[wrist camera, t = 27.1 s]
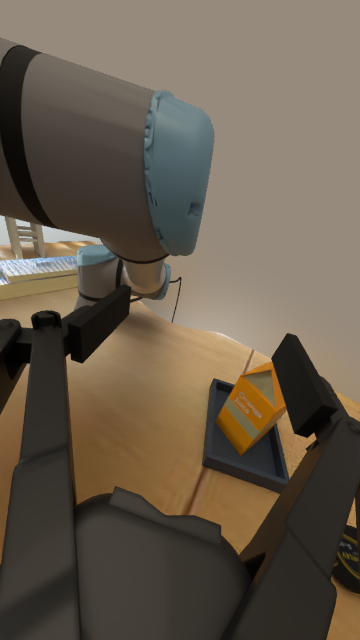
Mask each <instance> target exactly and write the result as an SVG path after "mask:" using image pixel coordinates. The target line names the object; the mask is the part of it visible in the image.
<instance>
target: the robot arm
mask: <svg viewBox="0 0 360 640" xmlns="http://www.w3.org/2000/svg"><path fill="white" fill-rule="evenodd" d="M213 145H214V129H213V125H212V123H211V120H210V118H209V117H208V115H207V114H206V113H205V112H204V111H203V110H201V109H199V108H197V107H195V106H192V105H190V104H188V103H185V102H183V101H181V100H178V99H176V98H175V97H174V96H173V95H172V94H171V93H170V92H169V91H166V90H162V91H153V90H150V89H147V88H144V87H141V86H138V85H136V84H133V83H130V82H127V81H124V80H121V79H118V78H115V77H112V76H109V75H107V74H104V73H101V72H98V71H95V70H92V69H89V68H86V67H83V66H81V65H78V64H74V63H72V62H69V61H66V60H63V59H60V58H57V57H54V56H51V55H49V54H44V53H41V52H38V51H35V50H32V49H30V48H28V47H25V46H23V45H20V44H17V43H14V42H11V41H9V40H6V39H2V38H0V215H2V216H6V217H10V218H14V219H19V220H22V221H26V222H30V223H34V224H38V225H43V226H47V227H51V228H56V229H60V230H64V231H69V232H73V233H78V234H83V235H88V236H92V237H96V238H100V239H101V241H102V243H103V244H104V245H88V246H84V247H82V248H80V249H79V250H78V252H77V263H76V265H77V273H78V287H79V297H78V300H77V303H76V305H75V308H74V311H73V312H72V313H70V314H69V315H67V316H65V317H64V318H62V319H61V316H60V314H59V313H58V312H55V311H48V310H46V311H40V312H37V313H35V314H33V315H32V317H31V321H32V325H33V328H22V327H21V325H20V322H19V321H17V320H15V319H2V320H0V414H1V412H2V410H3V408H4V407H5V405H6V403H7V401H8V399H9V397H10V395H11V393H12V391H13V389H14V387H15V385H16V384H17V382H18V380H19V378H20V376H21V374H22V372H23V370H24V368H25V366H26V364H27V363H29V364H30V369H29V378H28V387H27V396H26V405H25V414H24V424H23V433H22V442H21V451H20V459H19V463H18V464H17V465H16V466H15V468H14V471H13V476H12V483H11V491H10V499H9V506H8V514H7V522H6V530H5V538H4V546H3V554H2V562H1V565H0V640H326V638H327V635H328V631H329V627H330V623H331V620H332V616H333V612H334V608H335V604H336V598H337V592H336V587H335V586H334V585H333V583H332V582H331V573H332V570H333V566H334V563H335V560H336V557H337V553H338V550H339V547H340V543H341V540H342V537H343V534H344V530H345V527H346V524H347V520H348V517H349V514H350V510H351V507H352V504H353V501H354V497H355V508H356V525H357V543H358V560H359V578H360V422H359V421H357V420H356V419H354V418H352V417H350V416H349V415H348V414H347V412H346V410H345V409H344V407H343V405H342V404H341V402H340V400H339V399H338V398H337V395H336V394H335V392H334V390H333V389H332V387H331V385H330V384H329V383H328V382H327V381H326V380H325V379H324V378H323V377H321V376H319V374H318V372H317V370H316V369H315V367H314V365H313V363H312V362H311V360H310V358H309V356H308V355H307V353H306V351H305V349H304V348H303V346H302V344H301V342H300V341H299V339H298V337H297V336H296V335H292V334H289V333H287V334H286V336H285V337H284V339H283V340H282V342H281V344H280V345H279V347H278V348H277V350H276V351H275V353H274V355H273V356H272V358H271V359H272V363H273V366H274V369H275V372H276V376H277V379H278V382H279V386H280V389H281V392H282V395H283V399H284V402H285V405H286V408H287V412H288V415H289V418H290V421H291V425H292V428H293V431H294V434H297V435H300V436H303V437H306V438H308V437H309V436H310V435H311V434H313V433H315V436H316V438H317V439H316V440H315V441H314V442H313V443H312V444H311V445H309V446H308V447H307V448H306V450H307V453H306V454H305V456H304V457H303V459H302V461H301V462H300V464H299V465H298V467H297V469H296V470H295V472H294V473H293V475H292V477H291V478H290V480H289V481H288V483H287V485H286V486H285V488H284V489H283V491H282V492H281V494H280V496H279V497H278V499H277V500H276V502H275V504H274V505H273V507H272V508H271V510H270V512H269V513H268V515H267V516H266V518H265V520H264V521H263V523H262V524H261V526H260V527H259V529H258V531H257V532H256V534H255V535H254V537H253V539H252V540H251V542H250V543H249V544H248V545H247V546H246V547H245V548H244V549H243V551H242V552H241V553H240V554H239V555H238V554H237V552H236V551H235V549H234V548H233V547H232V546H231V544H230V543H229V542H228V541H227V540H226V539H225V538H224V537H223V536H222V535H221V525H219V524H216V523H214V522H211V521H208V520H205V519H203V518H200V517H197V516H195V515H173V516H168V515H164V514H163V513H162V512H160V511H159V510H158V509H157V508H155V507H154V506H153V505H152V504H151V503H149V502H148V501H147V500H146V499H144V498H143V497H142V496H141V495H138V494H135V493H133V492H130V491H127V490H125V489H122V488H119V487H117V486H115V488H114V491H113V493H106V494H100V495H97V496H93V497H91V498H89V499H87V500H85V501H83V502H81V503H80V504H78V505H77V496H76V485H75V475H74V462H73V448H72V435H71V421H70V408H69V394H68V381H67V367H66V356H67V355H69V354H71V360H73V361H76V362H79V363H82V364H83V363H84V361H85V360H86V359H87V358H88V357H89V356H90V355H91V354H92V353H93V352H94V351H95V350H96V349H97V348H98V347H99V346H100V345H101V343H102V342H103V341H104V340H105V339H106V338H107V337H108V336H109V335H110V334H111V333H112V332H113V331H114V330H115V329H116V328H117V327H118V326H119V324H120V323H121V322H122V321H123V320H124V319H125V318H126V317H127V316H128V315H129V308H130V302H132V301H136V300H139V299H142V298H149V299H152V300H161V299H163V298H164V297H165V295H166V292H167V290H168V286H169V283H173V282H177V281H179V280H180V285H179V292H178V297H177V302H176V306H175V310H176V307H177V303H178V298H179V293H180V288H181V280H182V279H181V277H179V278H178V280H176V281H170V274H171V270H170V266H169V265H168V264H166V263H164V260H165V258H166V257H168V256H169V255H172V256H178V255H182V256H187V255H190V254H192V253H193V251H194V249H195V246H196V242H197V237H198V232H199V228H200V223H201V218H202V212H203V207H204V202H205V196H206V191H207V185H208V179H209V173H210V167H211V160H212V153H213ZM131 295H132V296H138V297H139V298H135V299H131V300H130V297H131ZM175 310H174V314H173V318H172V323H173V319H174V315H175Z"/></svg>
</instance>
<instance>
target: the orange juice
mask: <svg viewBox="0 0 360 640" xmlns="http://www.w3.org/2000/svg"><path fill="white" fill-rule="evenodd" d="M286 410H287V408H286V405H285V402H284V399H283V395H282V392H281V389H280V386H279V382H278V379H277V376H276V372H275V369H274V366H273V363H272V362H269V363H266V364H263V365H261V366H259V367H257V368H255V369H253V370H251V371H249V372H247V373H245V374H243V375H240V377H239V379H238V381H237V383H236V384H235V386H234V388H233V390H232V392H231V394H230V395H229V397H228V398H227V400H226V402H225V404H224V406H223V408H222V410H221V412H220V414H219V415H218V417H217V419H216V421H215V422H216V424H217V425H218V426H219V428H220V429H221V430H222V432H223V433H224V434H225V436H226V437H227V438H228V440H229V441H230V442H231V444H232V445H233V446H234V448H235V449H236V450H237V452H238V453H239V454H240V456H241V455H242V454H244V453H245V452H246V451H247V450H248V449H249V448H251V447H252V446H253V445H254V444H255V443H256V442H258V441H259V440H260V439H261V438H262V437H263V436H265V435H266V434H267V433H268V431H269V430H270V429H271V428H272V427H273V425H274V424H275V423H276V422H277V421H278V420H279V419H280V417H281V416H282V415H283V414H284V413H285V412H286Z"/></svg>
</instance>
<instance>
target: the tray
mask: <svg viewBox="0 0 360 640" xmlns="http://www.w3.org/2000/svg"><path fill="white" fill-rule="evenodd" d="M234 386H235V385H233V384H230V383H227V382H224V381H221V380H218V379H215V378H214V379H213V381H212V383H211V386H210V392H209V402H208V412H207V422H206V432H205V442H204V452H203V462H202V465H203V466H206V467H209V468H212V469H214V470H217V471H220V472H223V473H225V474H228V475H231V476H234V477H237V478H239V479H242V480H245V481H248V482H250V483H253V484H256V485H259V486H262V487H264V488H267V489H270V490H273V491H275V492H278V493H281V492H282V491H283V489H284V488H285V486H286V485H287V483H288V481H289V475H288V471H287V467H286V462H285V458H284V454H283V449H282V445H281V441H280V437H279V432H278V428H277V424H276V423H275V424H274V425H273V427H272V428H271V429H270V430H269V431H268V433H267V434H266V435H265V436H263V437H262V438H261V439H260V440H259V441H258V442H256V443H255V444H254V445H253V446H252V447H251V448H249V449H248V450H247V451H246V452H245V453H244V454H242V455H241V456H240V454H239V453H238V452H237V450H236V449H235V448H234V446H233V445H232V444H231V442H230V441H229V440H228V438H227V437H226V436H225V434H224V433H223V432H222V430H221V429H220V428H219V426H218V425H217V424H216V422H215V421H216V419H217V417H218V415H219V414H220V412H221V410H222V408H223V406H224V404H225V402H226V400H227V398H228V397H229V395H230V394H231V392H232V390H233V388H234Z"/></svg>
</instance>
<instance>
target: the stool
mask: <svg viewBox="0 0 360 640" xmlns="http://www.w3.org/2000/svg"><path fill="white" fill-rule="evenodd" d="M5 221H6V225H7V229H8V234H9V238H10V243H11V247H12V251H13V253H14V254H16V258H17V260H18V259H23V255H22V250H21V245H20V241H24V242H33V243H34V249H35V253H36V254H39V256H40V258H46V254H45V247H44V241H43V233H42V226H41V225H38V224H34V223H30V225H31V227H21V226H16V221H15V219H14V218H10V217H6V216H5ZM17 229H23V230H31V231H32V232H28V231H17ZM19 236H28V237H33V239H27V238H19Z"/></svg>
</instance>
